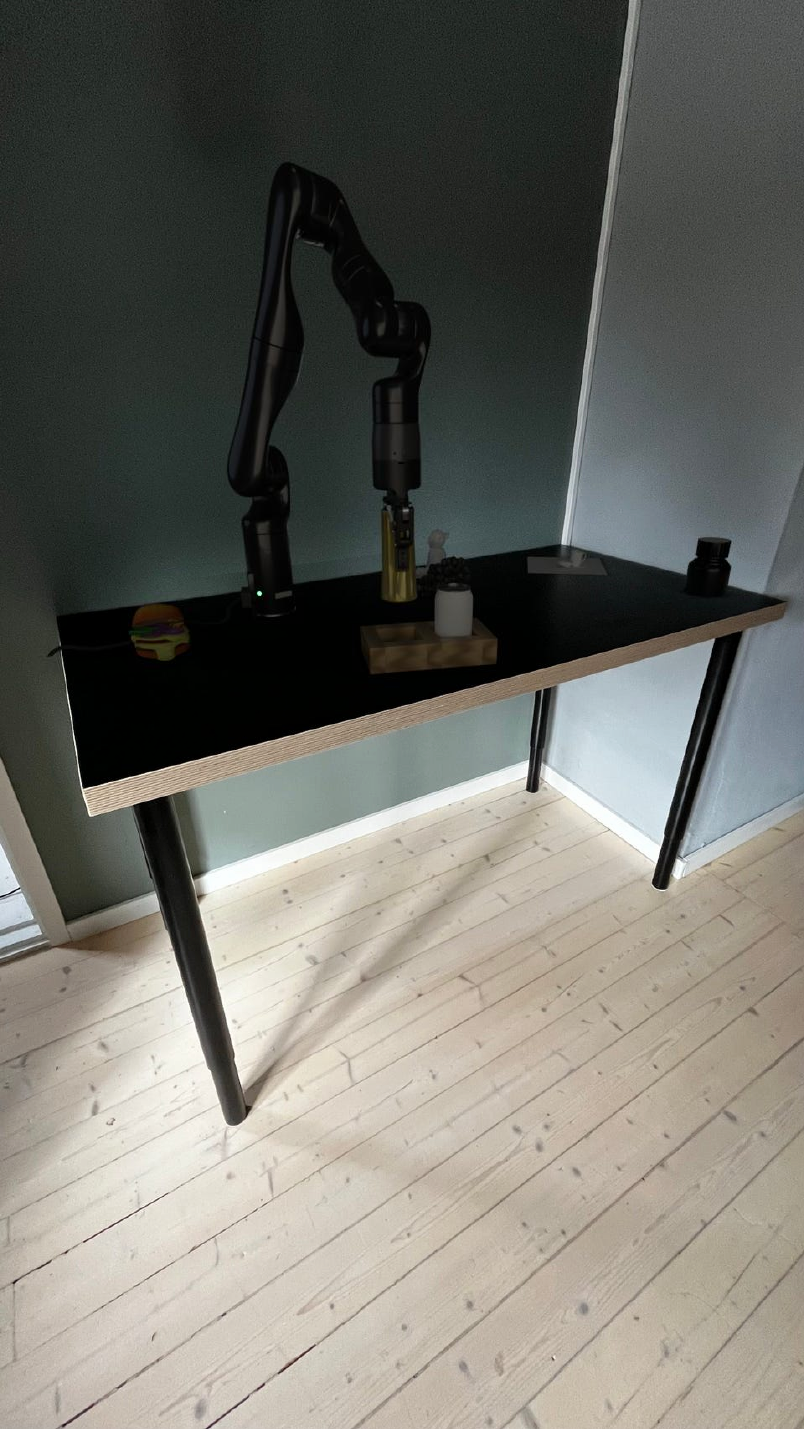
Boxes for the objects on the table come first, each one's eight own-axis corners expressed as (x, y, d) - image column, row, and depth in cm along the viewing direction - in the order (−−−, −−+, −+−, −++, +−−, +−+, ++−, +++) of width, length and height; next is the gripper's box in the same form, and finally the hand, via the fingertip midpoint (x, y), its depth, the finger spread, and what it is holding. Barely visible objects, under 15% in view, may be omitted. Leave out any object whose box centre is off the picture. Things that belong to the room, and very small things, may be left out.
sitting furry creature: (436, 571, 170) (437, 524, 165) (460, 576, 164) (461, 528, 159) (410, 577, 164) (410, 529, 159) (434, 583, 159) (434, 533, 153)
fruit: (418, 561, 139) (473, 551, 146) (399, 567, 146) (453, 557, 153) (426, 601, 141) (480, 589, 148) (407, 604, 148) (459, 593, 155)
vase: (405, 604, 103) (403, 512, 97) (373, 599, 106) (370, 510, 100) (424, 595, 108) (424, 507, 102) (393, 591, 111) (391, 505, 104)
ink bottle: (707, 586, 152) (717, 534, 147) (736, 595, 144) (747, 541, 139) (673, 590, 149) (682, 537, 144) (700, 600, 142) (711, 545, 136)
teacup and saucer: (557, 569, 169) (559, 554, 167) (556, 563, 176) (557, 548, 174) (592, 570, 168) (593, 555, 166) (589, 563, 175) (590, 548, 173)
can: (446, 663, 109) (447, 594, 104) (427, 651, 114) (427, 585, 109) (478, 656, 112) (481, 588, 107) (458, 645, 117) (460, 580, 112)
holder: (370, 674, 105) (369, 648, 103) (361, 650, 116) (360, 626, 114) (496, 663, 109) (497, 638, 107) (475, 641, 119) (476, 617, 117)
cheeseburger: (135, 666, 109) (122, 608, 107) (135, 661, 119) (123, 607, 117) (196, 656, 113) (185, 599, 111) (191, 652, 123) (181, 599, 120)
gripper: (365, 453, 103) (369, 559, 110) (379, 459, 90) (382, 579, 98) (411, 452, 104) (412, 556, 112) (431, 458, 92) (430, 576, 99)
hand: (398, 566), depth 105 cm, fingers closed on vase, 5 cm apart
